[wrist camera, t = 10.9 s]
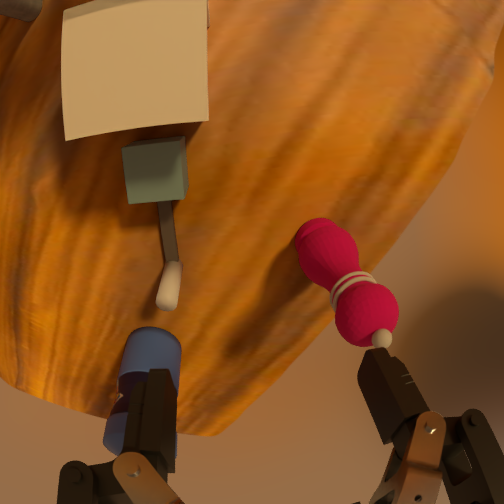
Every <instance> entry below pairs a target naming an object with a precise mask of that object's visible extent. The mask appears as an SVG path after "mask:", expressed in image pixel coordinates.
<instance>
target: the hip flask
mask: <svg viewBox="0 0 504 504" xmlns="http://www.w3.org/2000/svg"><path fill="white" fill-rule="evenodd" d="M41 9H42V0H0V15H4V16H8V17H12V18H16V19H19V20H23V21H26V22H29V21H32V20H34V19H35V18H36V17H37V16H38V15H39V13H40V11H41Z"/></svg>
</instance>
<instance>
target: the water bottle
mask: <svg viewBox="0 0 504 504" xmlns="http://www.w3.org/2000/svg"><path fill="white" fill-rule="evenodd" d="M180 362H181V345H180V342H179V341H178V339H177V338H176V337H175V336H174V335H172V334H171V333H170V332H168V331H166V330H163V329H161V328H157V327H141V328H138V329H136V330H134V331H133V332H132V333H131V334H130V335H129V337H128V340H127V344H126V347H125V351H124V355H123V358H122V362H121V366H120V370H119V374H118V379H117V392H116V400H115V402H114V405H113V408H112V411H111V413H110V416H109V418H108V419H107V422H106V428H105V432H104V437H103V444H104V446H105V447H106V448H107V449H108V450H109V451H111V452H112V453H114V454H115V455H117V456H119V454H120V453H121V451H122V448H123V442H124V435H125V428H126V421H127V415H128V408H129V405H130V404H129V402H130V396H131V391H132V390H133V388H134V387H135V385H136V384H137V382H138V381H140V382H147V380H148V373H149V370H150V369H151V368H157V369H165V368H168V369H169V370H170V373H171V377H172V380H173V383H174V386H175V389H176V395H177V397H178V389H179V376H180ZM176 456H177V432H176V443H175V458H176Z"/></svg>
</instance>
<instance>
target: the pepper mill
mask: <svg viewBox="0 0 504 504" xmlns="http://www.w3.org/2000/svg"><path fill="white" fill-rule="evenodd" d="M295 247H296V250H297V252H298V254H299V263H300V266H301V269H302V270H303V272H304V273H305V275H306V276H307V277H308V278H309V279H310V280H311V281H313V282H314V283H316V284H318V285H320V286H322V287H324V288H326V289H327V290H328V291H329V292H330V303H331V306H332V307H333V309H334V311H335V324H336V326H337V329H338V331H339V333H340V334H341V336H342V337H343V338H344V339H345V340H346V341H347V342H349V343H350V344H353V345H356V346H360V347H368V346H373V345H374V347H376V348H380V347H384V348H387V347H388V346H389V345H390V344H391V342H392V335H391V333H392V331H393V330H394V328H395V326H396V324H397V321H398V315H399V309H398V304H397V301H396V299H395V297H394V295H393V294H392V293H391V292H390V290H389V289H387V288H386V287H384V286H383V285H380V284H378V283H377V282H376V281H375V280H374V278H373V277H372V276H371V275H370V274H369V273H366V272H362V270H361V268H360V267H359V254H358V249H357V246H356V243H355V241H354V240H353V238H352V237H351V235H350V234H349V233H348V232H347V231H345V230H344V229H342V228H340V227H337V225H336V224H335V223H334V222H332V221H331V220H329V219H326V218H316V219H312V220H310V221H308V222H306V223H305V224H304V225H303V226H302V227H301V228H300V229H299V231H298V232H297V235H296V238H295Z"/></svg>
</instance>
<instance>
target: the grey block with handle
mask: <svg viewBox="0 0 504 504" xmlns="http://www.w3.org/2000/svg"><path fill="white" fill-rule="evenodd" d="M121 150H122V159H123V167H124V175H125V183H126V190H127V197H128V203H129V204H136V203H146V202H157V204H158V212H159V219H160V226H161V233H162V240H163V246H164V252H165V259H166V263H165V267H164V270H163V274H162V278H161V282H160V286H159V290H158V293H157V298H156V305H157V306H158V308H160V309H161V310H163V311H172V310H174V309H175V308H176V306H177V302H178V295H179V289H180V282H181V276H182V270H183V264H182V262H181V261H180V260H179V256H178V248H177V241H176V234H175V226H174V218H173V209H172V200H180V199H185V196H186V193H187V190H188V186H189V185H188V173H187V159H186V144H185V136H177V137H167V138H158V139H150V140H142V141H134V142H132V143H130V144H128V145H126V146H124V147H122V148H121Z"/></svg>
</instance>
